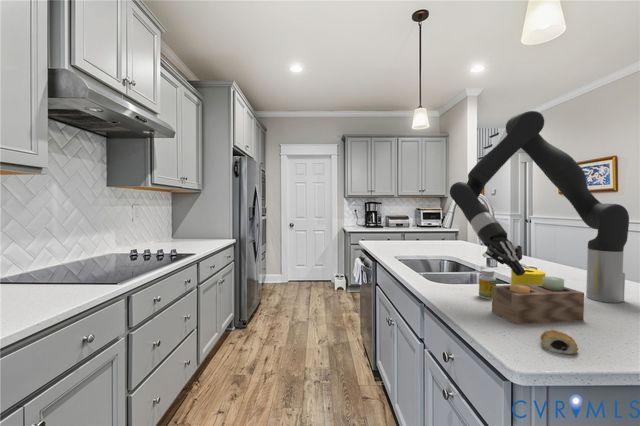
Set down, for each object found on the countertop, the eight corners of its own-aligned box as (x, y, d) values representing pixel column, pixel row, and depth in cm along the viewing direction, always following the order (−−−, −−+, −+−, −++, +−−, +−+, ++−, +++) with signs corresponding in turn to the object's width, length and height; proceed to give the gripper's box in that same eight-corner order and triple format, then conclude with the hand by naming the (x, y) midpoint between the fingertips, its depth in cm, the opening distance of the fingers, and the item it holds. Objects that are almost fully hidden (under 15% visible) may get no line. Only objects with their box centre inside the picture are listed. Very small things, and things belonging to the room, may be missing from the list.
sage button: (553, 286, 96) (553, 276, 96) (568, 290, 91) (568, 280, 91) (538, 286, 95) (538, 276, 95) (553, 291, 90) (553, 280, 90)
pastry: (539, 336, 79) (539, 321, 79) (573, 342, 75) (573, 327, 75) (541, 351, 71) (542, 334, 71) (579, 359, 67) (580, 341, 67)
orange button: (520, 294, 94) (520, 284, 94) (534, 299, 89) (534, 288, 89) (505, 294, 94) (505, 284, 94) (518, 299, 89) (518, 289, 89)
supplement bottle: (484, 294, 115) (484, 268, 114) (499, 297, 110) (499, 270, 110) (475, 296, 112) (476, 269, 111) (490, 300, 107) (491, 272, 107)
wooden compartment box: (553, 308, 99) (553, 283, 98) (583, 320, 89) (584, 292, 89) (491, 311, 96) (492, 285, 96) (516, 324, 86) (516, 295, 86)
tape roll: (522, 292, 117) (523, 267, 117) (551, 299, 108) (552, 272, 108) (504, 295, 113) (505, 269, 113) (532, 303, 104) (533, 275, 104)
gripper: (478, 222, 98) (512, 268, 87) (510, 221, 102) (547, 265, 91) (465, 237, 103) (496, 282, 92) (496, 235, 107) (529, 279, 96)
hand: (521, 274), depth 91 cm, fingers closed
